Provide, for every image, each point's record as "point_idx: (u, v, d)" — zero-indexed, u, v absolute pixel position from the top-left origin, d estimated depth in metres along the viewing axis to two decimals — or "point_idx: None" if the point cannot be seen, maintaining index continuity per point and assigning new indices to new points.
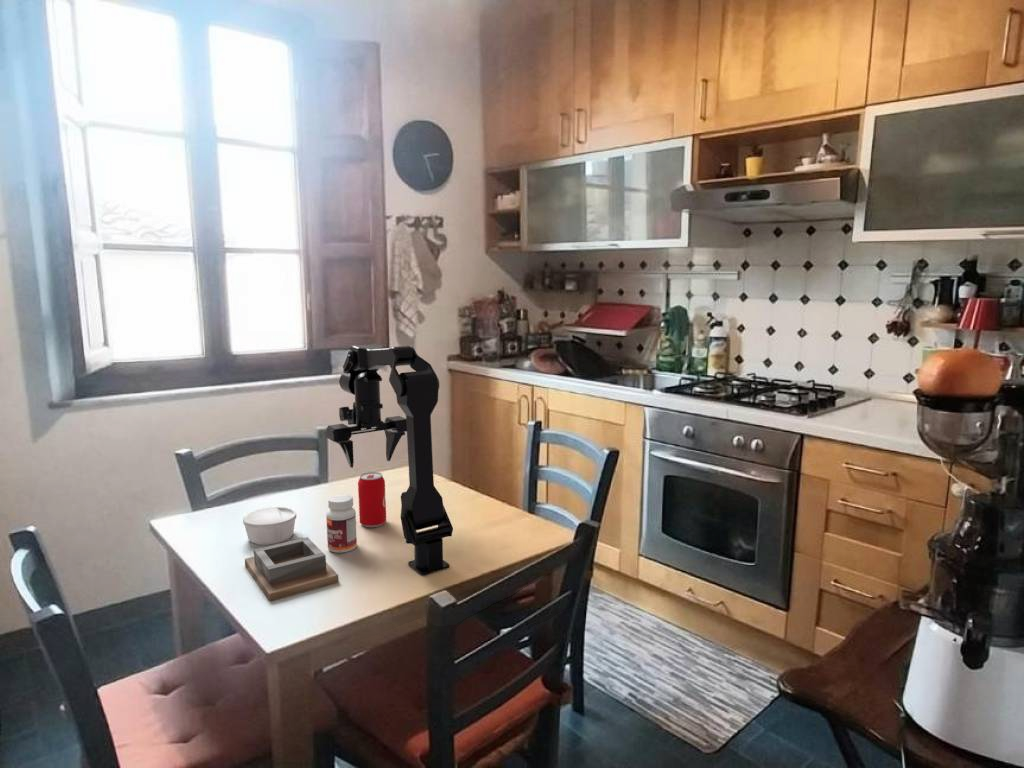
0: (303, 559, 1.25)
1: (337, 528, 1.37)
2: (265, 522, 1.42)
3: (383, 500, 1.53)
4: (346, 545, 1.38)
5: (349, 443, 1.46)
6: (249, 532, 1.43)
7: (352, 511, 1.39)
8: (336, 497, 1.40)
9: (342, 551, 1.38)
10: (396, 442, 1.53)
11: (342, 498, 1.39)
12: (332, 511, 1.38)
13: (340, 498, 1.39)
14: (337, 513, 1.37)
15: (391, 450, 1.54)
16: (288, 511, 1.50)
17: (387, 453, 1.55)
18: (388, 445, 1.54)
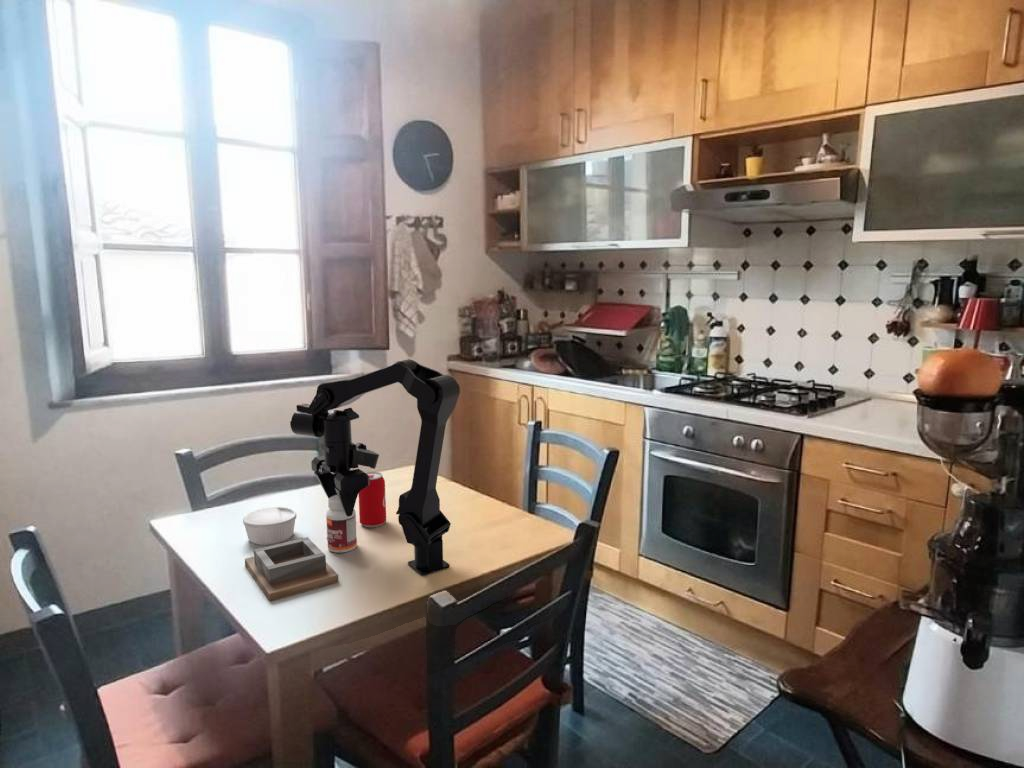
0: (303, 559, 1.25)
1: (337, 528, 1.37)
2: (265, 522, 1.42)
3: (383, 500, 1.53)
4: (346, 545, 1.38)
5: (317, 476, 1.42)
6: (249, 532, 1.43)
7: None
8: (336, 497, 1.40)
9: (342, 551, 1.38)
10: (339, 497, 1.33)
11: None
12: (332, 511, 1.38)
13: None
14: (337, 513, 1.37)
15: (342, 504, 1.35)
16: (288, 511, 1.50)
17: None
18: None
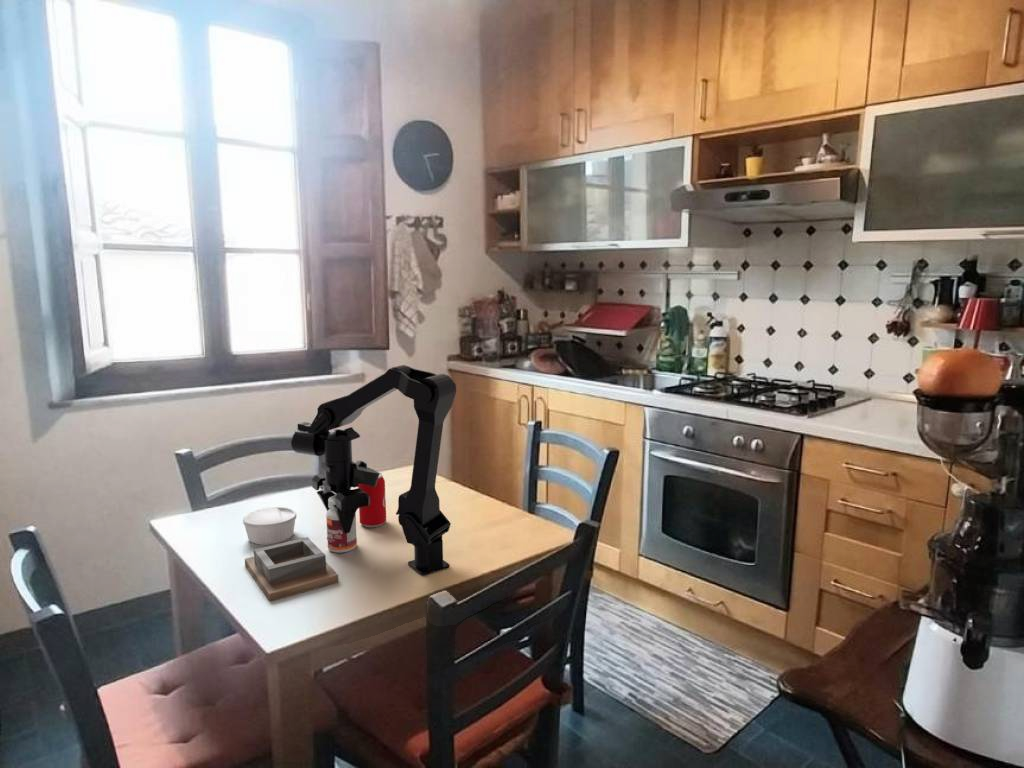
0: (303, 559, 1.25)
1: (337, 528, 1.37)
2: (265, 522, 1.42)
3: (383, 500, 1.53)
4: (346, 545, 1.38)
5: (319, 495, 1.41)
6: (249, 532, 1.43)
7: None
8: None
9: (342, 551, 1.38)
10: (337, 515, 1.35)
11: None
12: (332, 511, 1.38)
13: None
14: None
15: (340, 521, 1.36)
16: (288, 511, 1.50)
17: None
18: None
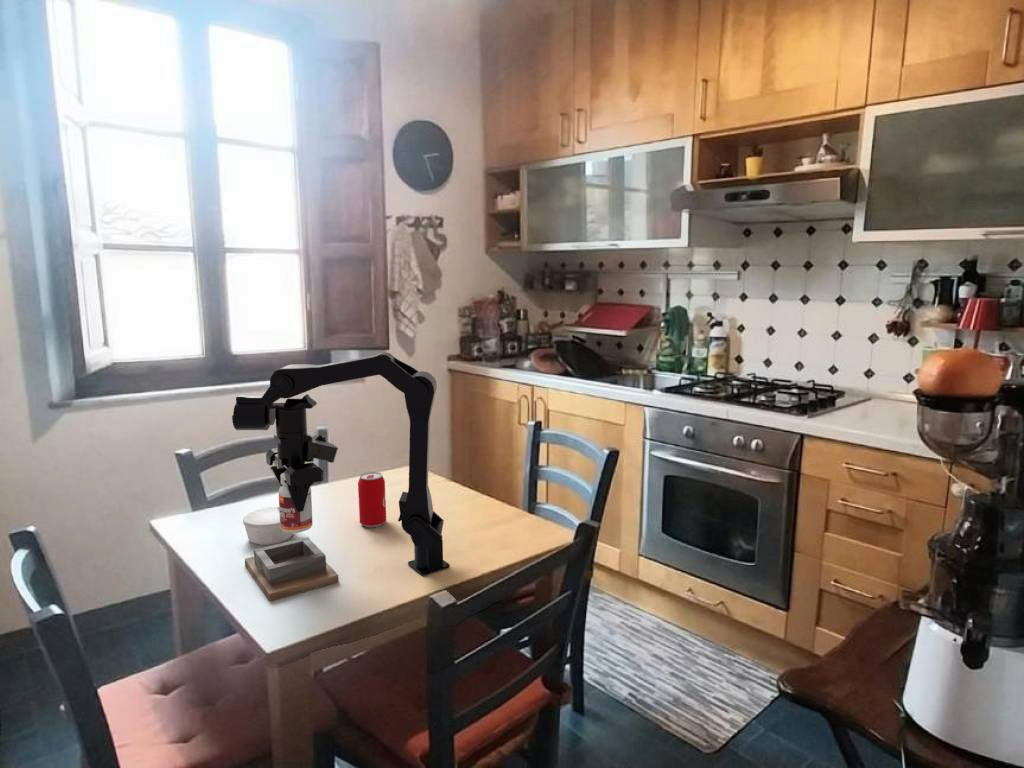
0: (303, 559, 1.25)
1: (289, 506, 1.26)
2: (265, 522, 1.42)
3: (383, 500, 1.53)
4: (299, 524, 1.27)
5: (272, 471, 1.30)
6: (249, 532, 1.43)
7: None
8: None
9: (295, 531, 1.27)
10: (289, 491, 1.23)
11: None
12: (284, 487, 1.27)
13: None
14: None
15: (292, 499, 1.25)
16: None
17: None
18: None
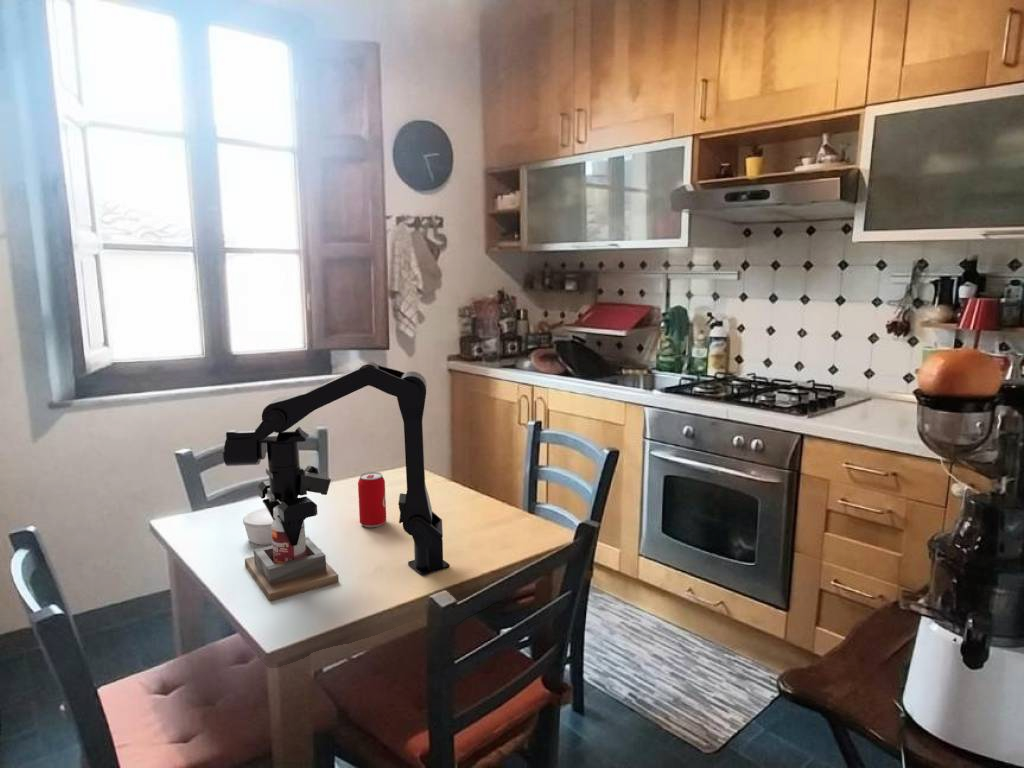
0: (303, 559, 1.25)
1: (283, 540, 1.25)
2: (265, 522, 1.42)
3: (383, 500, 1.53)
4: (293, 559, 1.26)
5: (265, 504, 1.29)
6: (249, 532, 1.43)
7: None
8: None
9: None
10: (282, 526, 1.22)
11: None
12: (277, 522, 1.25)
13: None
14: None
15: (285, 533, 1.24)
16: None
17: None
18: None
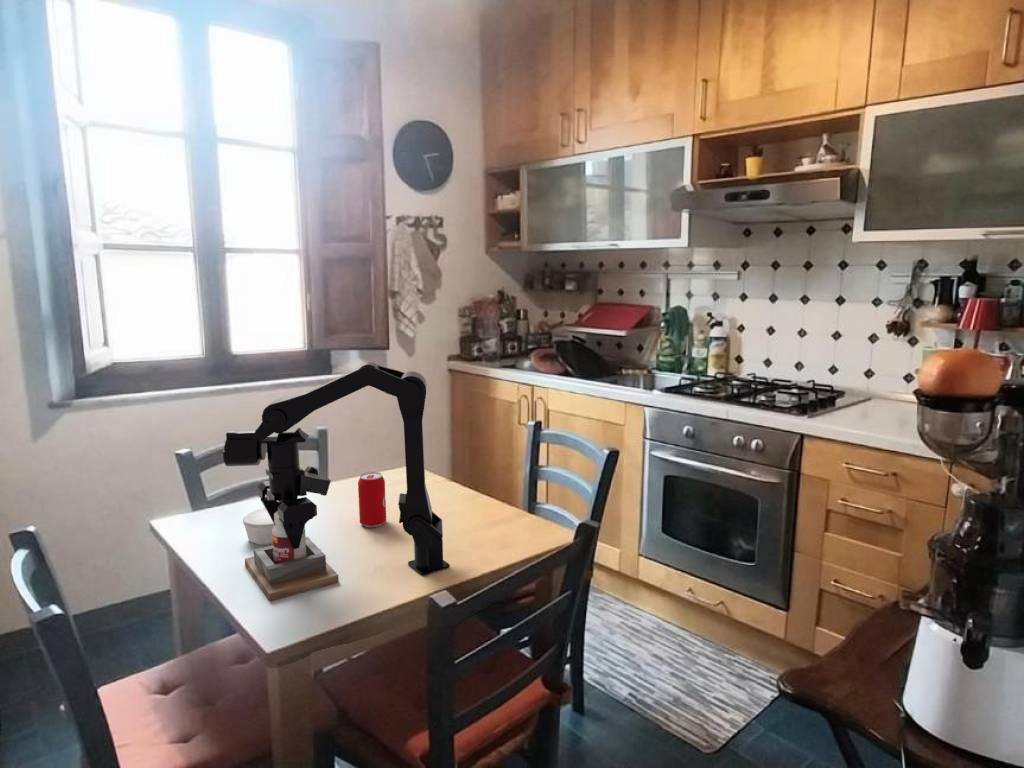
0: (303, 559, 1.25)
1: (283, 546, 1.25)
2: (265, 522, 1.42)
3: (383, 500, 1.53)
4: None
5: (263, 503, 1.30)
6: (249, 532, 1.43)
7: None
8: None
9: None
10: (284, 529, 1.21)
11: None
12: (278, 527, 1.25)
13: None
14: None
15: (287, 536, 1.23)
16: None
17: None
18: None
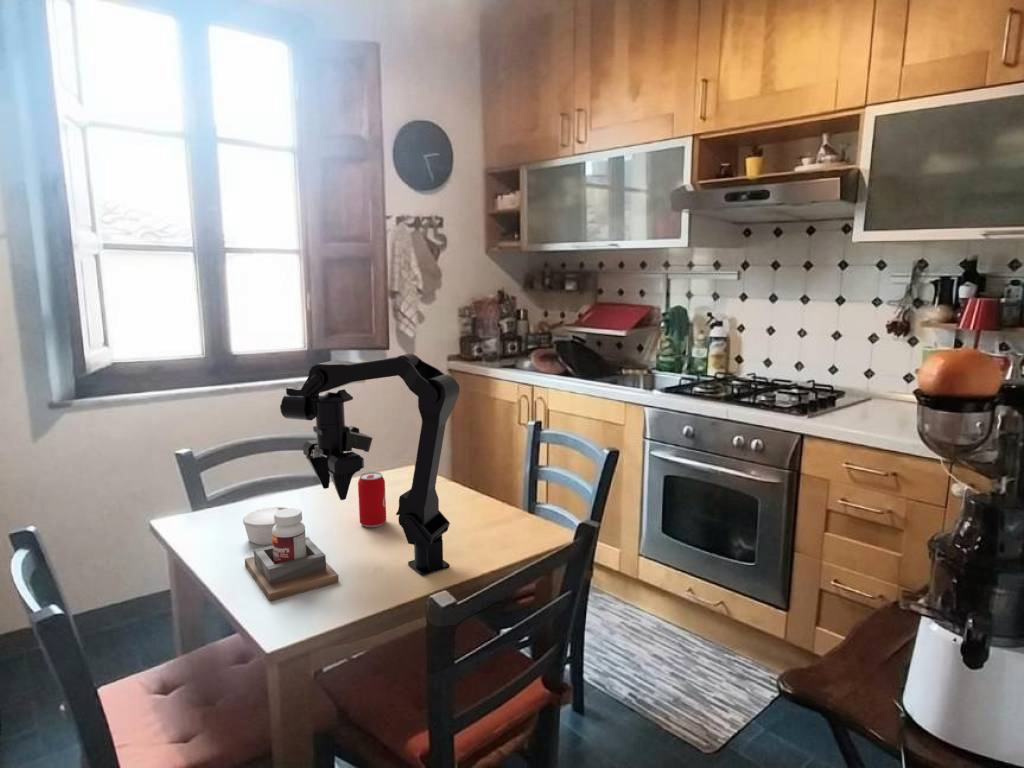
0: (303, 559, 1.25)
1: (283, 546, 1.25)
2: (265, 522, 1.42)
3: (383, 500, 1.53)
4: None
5: (309, 460, 1.39)
6: (249, 532, 1.43)
7: (301, 527, 1.26)
8: (283, 511, 1.27)
9: None
10: (333, 480, 1.31)
11: (289, 513, 1.27)
12: (278, 527, 1.25)
13: (287, 513, 1.26)
14: (283, 530, 1.25)
15: (335, 488, 1.32)
16: None
17: None
18: None
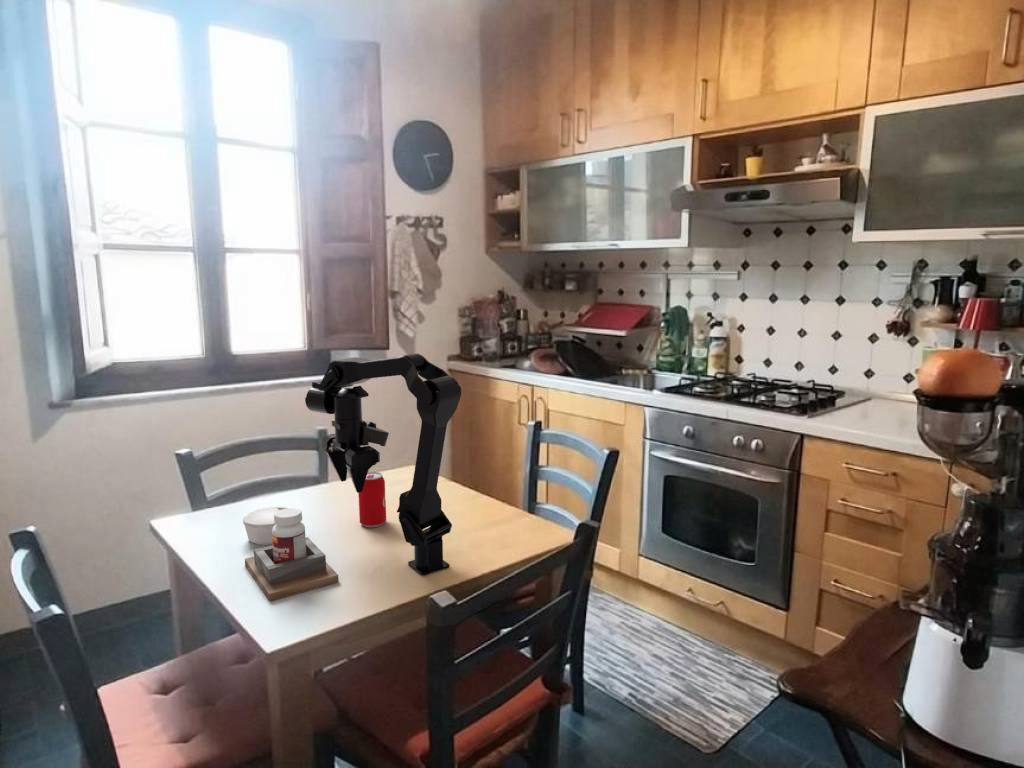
0: (303, 559, 1.25)
1: (283, 546, 1.25)
2: (265, 522, 1.42)
3: (383, 500, 1.53)
4: None
5: (327, 453, 1.44)
6: (249, 532, 1.43)
7: (300, 527, 1.26)
8: (283, 511, 1.27)
9: None
10: (350, 473, 1.35)
11: (289, 513, 1.27)
12: (278, 527, 1.25)
13: (287, 513, 1.26)
14: (283, 530, 1.25)
15: (352, 480, 1.36)
16: None
17: None
18: None
